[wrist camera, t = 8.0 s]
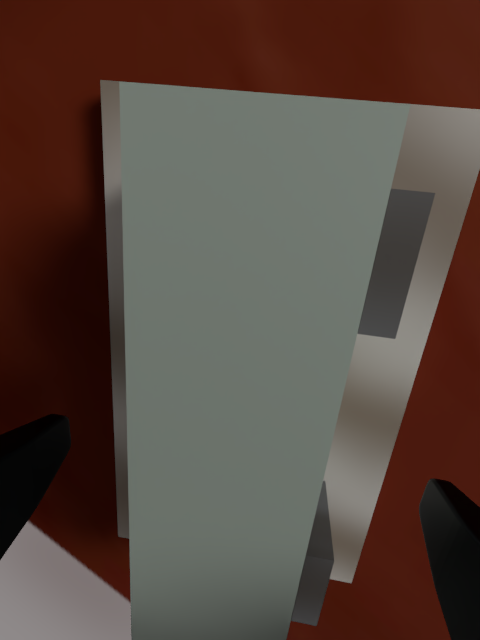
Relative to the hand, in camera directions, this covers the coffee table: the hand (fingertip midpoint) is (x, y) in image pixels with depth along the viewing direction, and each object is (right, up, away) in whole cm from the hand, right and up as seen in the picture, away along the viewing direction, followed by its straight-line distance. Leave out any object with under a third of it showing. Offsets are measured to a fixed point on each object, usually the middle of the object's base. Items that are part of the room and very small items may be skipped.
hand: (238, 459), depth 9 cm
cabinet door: (0, +1, +3) cm, 4 cm away
